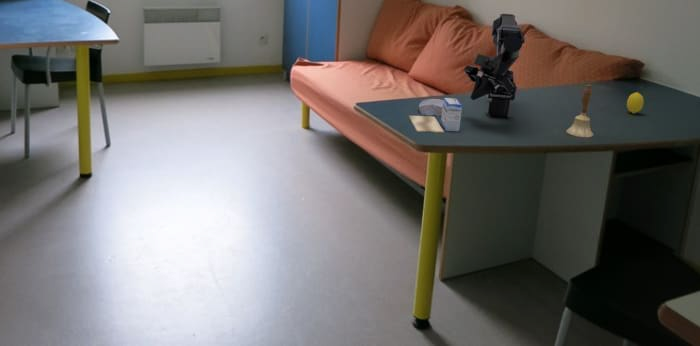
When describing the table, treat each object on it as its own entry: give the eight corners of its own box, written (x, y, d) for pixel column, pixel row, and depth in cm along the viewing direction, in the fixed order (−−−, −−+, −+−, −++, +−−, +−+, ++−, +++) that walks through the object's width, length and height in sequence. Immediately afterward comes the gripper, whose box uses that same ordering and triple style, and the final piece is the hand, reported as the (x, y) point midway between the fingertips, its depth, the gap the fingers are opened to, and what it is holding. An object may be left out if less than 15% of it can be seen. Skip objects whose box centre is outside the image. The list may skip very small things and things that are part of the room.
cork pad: (433, 117, 240) (434, 116, 239) (444, 132, 224) (444, 131, 223) (408, 116, 239) (408, 115, 239) (417, 131, 223) (417, 130, 223)
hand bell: (598, 136, 231) (607, 86, 226) (581, 138, 227) (590, 88, 222) (578, 129, 238) (586, 81, 232) (560, 131, 233) (569, 82, 228)
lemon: (641, 113, 264) (646, 91, 261) (640, 116, 259) (644, 94, 256) (625, 110, 266) (629, 89, 263) (624, 114, 261) (628, 92, 258)
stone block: (418, 119, 243) (448, 117, 241) (416, 105, 242) (446, 103, 240) (422, 112, 255) (450, 110, 252) (420, 99, 253) (449, 96, 251)
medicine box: (440, 124, 233) (443, 97, 230) (454, 124, 233) (457, 98, 231) (445, 131, 226) (448, 103, 223) (459, 131, 226) (462, 104, 223)
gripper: (471, 39, 234) (441, 75, 232) (512, 51, 219) (479, 89, 217) (487, 62, 240) (457, 98, 239) (527, 75, 226) (496, 112, 224)
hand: (471, 99), depth 229 cm, fingers closed
